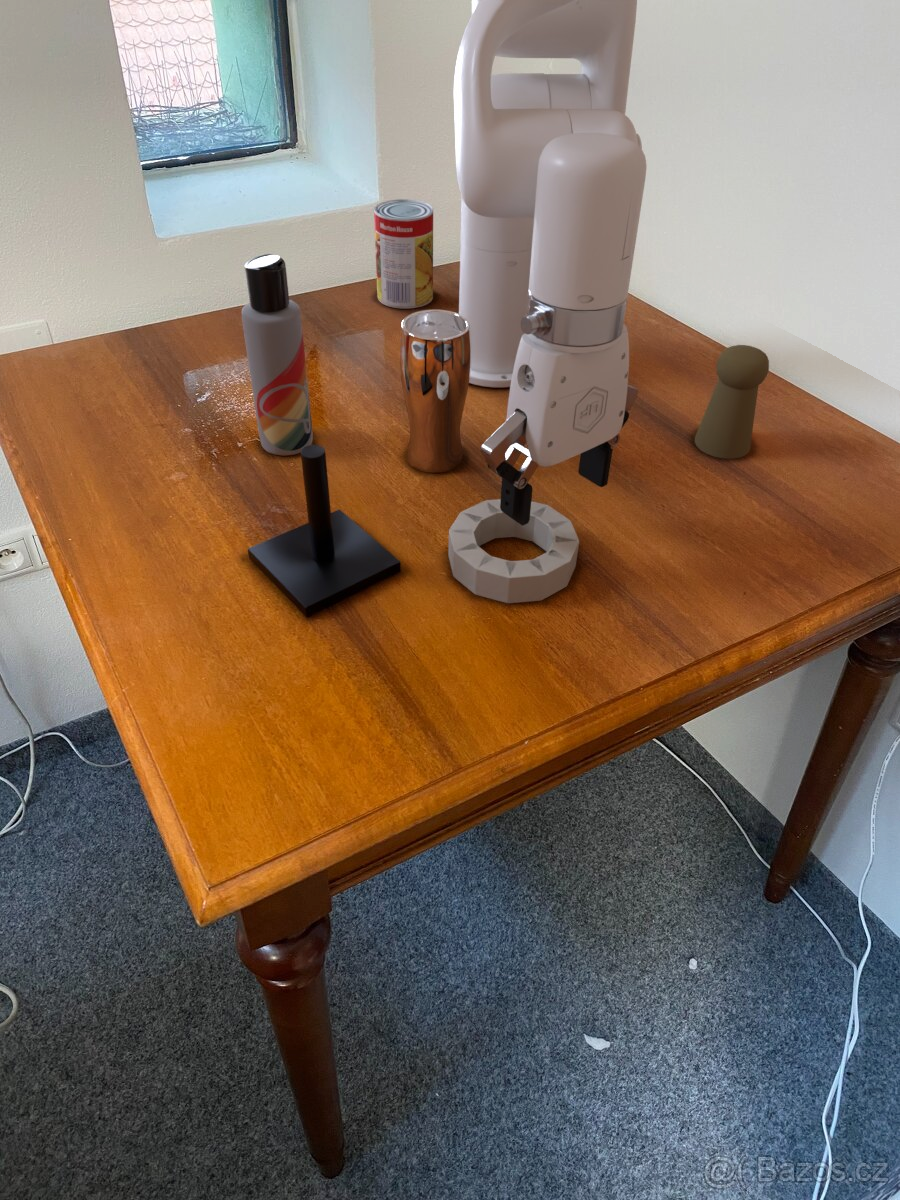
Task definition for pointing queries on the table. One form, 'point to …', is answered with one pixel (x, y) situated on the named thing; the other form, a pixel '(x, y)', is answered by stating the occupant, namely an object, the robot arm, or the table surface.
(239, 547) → the table surface
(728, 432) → the olive pawn figure
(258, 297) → the lotion bottle
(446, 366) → the beer glass
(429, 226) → the canned food
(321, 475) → the post
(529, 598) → the tape roll
